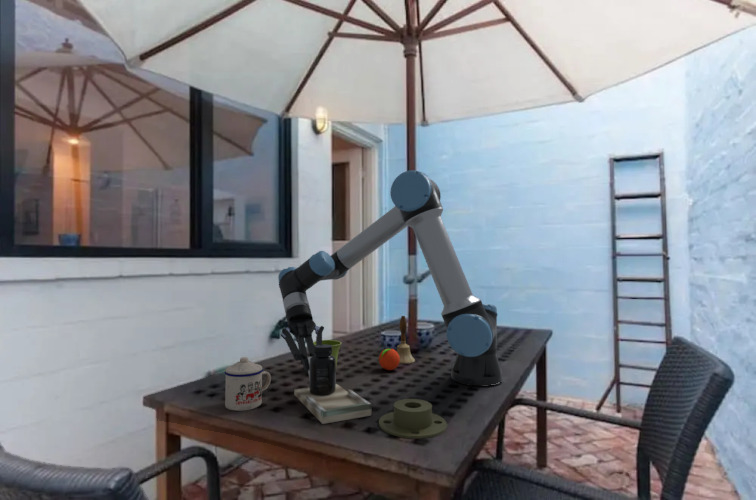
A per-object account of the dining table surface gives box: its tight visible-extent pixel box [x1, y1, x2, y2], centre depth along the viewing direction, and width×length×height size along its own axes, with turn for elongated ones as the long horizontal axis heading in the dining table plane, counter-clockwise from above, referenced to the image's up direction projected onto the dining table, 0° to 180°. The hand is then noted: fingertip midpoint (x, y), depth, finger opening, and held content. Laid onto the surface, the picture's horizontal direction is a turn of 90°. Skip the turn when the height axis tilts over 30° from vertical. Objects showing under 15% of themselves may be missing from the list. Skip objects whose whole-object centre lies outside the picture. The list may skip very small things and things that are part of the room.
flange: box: [378, 398, 448, 440], centre depth 96 cm, size 5×15×15 cm
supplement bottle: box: [308, 344, 337, 395], centre depth 113 cm, size 7×7×12 cm
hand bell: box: [396, 315, 416, 365], centre depth 154 cm, size 8×8×16 cm
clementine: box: [378, 347, 400, 371], centre depth 141 cm, size 8×7×7 cm
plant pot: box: [313, 339, 342, 366], centre depth 142 cm, size 9×9×9 cm
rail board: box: [293, 383, 372, 425], centre depth 108 cm, size 22×12×3 cm, turn 27°
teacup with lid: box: [224, 356, 272, 412], centre depth 108 cm, size 12×9×12 cm
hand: (314, 380), depth 117 cm, fingers closed
